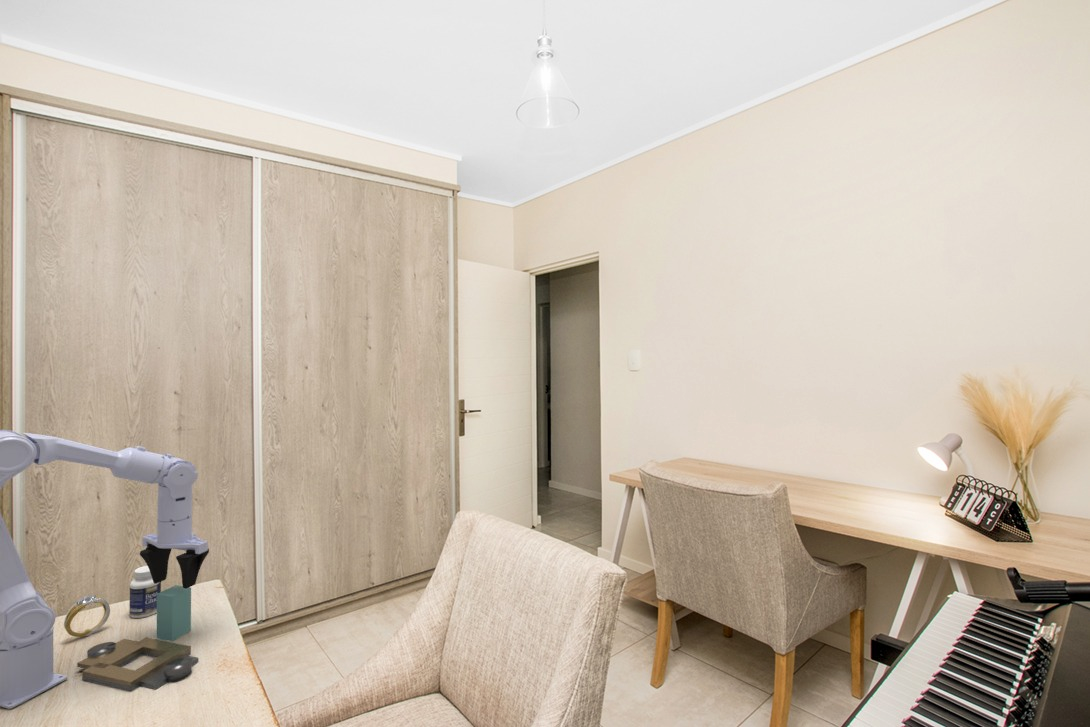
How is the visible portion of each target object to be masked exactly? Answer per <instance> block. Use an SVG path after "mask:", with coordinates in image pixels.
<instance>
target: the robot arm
mask: <svg viewBox="0 0 1090 727" xmlns="http://www.w3.org/2000/svg"><path fill="white" fill-rule="evenodd" d="M22 434H23V435H24V436H25V437H24V436H22V435H21V434H20V433H18V432H16V431H13V430H9V429H0V490H2V488H3V487H4V486H5V485H6V484H7V483H8V481H9V480H11V479H13V478H14V477H15V476H17V475H18V474H21V473H22V472H23V471H25V470H26V469H28V468H29V467H30V466H31V465H32V464H33V463H34V464H36V465H37V466H42V465H45V464H48V463H52V462H54V461H65V462H70V463H77V464H82V465H89V466H94V467H100V468H104V469H105V468H107V469H109V470H110V471H111V474H112V476H113V477H114V478H117V479H118V478H119V479H124V480H130V481H135V482H141V483H145V484H150V485H153V484H158V485H157V486H158V487H157V490H158V491H157V517H156V518H157V519H156V520H157V521H156V523H157V524H156V525H157V526H156V527H157V528H156V529H157V530H156V531H157V533H150V534H147V535H145V536H142V547H145V549H143V550H140V551H139V555H140V557H141V558H142V559H143V561H144V562H145V563H146V566H148V568H149V570H150V573H151V576H152V579H153V582H154V583H155V584H157V583H159V582H161V583H162V582H163V581H165V580H167V577H168V570H169V569H168V568H169V561H170V560H169V559H170V555H171V552H172V550H179V551H185V552H184V553H180V554H179V555H177V556H175V560H176V561H177V563H178V565H179V568H180V572H181V584H182V585H181V586H183V588H185V589H186V588H189V587H190V588H192V587H193V586H195V585H196V582H197V579H198V576H199V572H200V569H201V567H202V565H203V562H204V561H205V559H206V558H207V556H208V554H209V552H210V549H209V547H208V546H209V542H208V540H203V539H201V538H199V537H198V536H197V533H196V532H193V485H194V484H195V482H196V481H197V479H198V476H199V472H198V471H197V469H196V467H195V466H196V465H194V464H193V463H192V462H191V461H188V460H187V459H186V460H185V459H183V458H179V457H177V456H175V455H173V454H170V453H165V454H160V453H156V452H151V451H147V448H146V447H144V446H141V445H140V446H139V445H136V446H135V448H134V447H131V446H130V447H129V446H128V447H126V448H123V449H121V450H118V451H114V450H110V449H105V448H102V447H97V446H94V445H90V444H86V443H81V442H79V441H74V440H71V439H66V438H62V437H58V436H53V435H45V434H37V433H30V432H22ZM56 618H57V617H56V613H55V611H54V609H53V608H52V607H50V606H49V605H48V604H47V603H46V601H45V598H44V597H43V595H42V594H41V593H40V592H38V591H36V589H35V587H34V585H33V584H32V581H31V580H30V578H29V574H28V573H27V571H26V568H25V566H24V563H23V562H22V559H21V557H20V554H19V551H18V550H17V547H16V545H15V542H14V540H13V538H12V537H11V534H10V531H9V529H8V527H7V525H6V521H5V520H4V517H3V515H2V513H1V512H0V707H2V708H6V709H8V710H9V709H10V710H11V709H14V708H15V707H17V706H19V705H21V704H23V703H25V702H27V701H28V700H30V699H32V698H35V697H37V696H39V695H40V694H41V693H43V692H45V691H48V690H49V689H51V688H53V687H55V686H57V685H59V684H60V683H62V682H64V681H65V680H67V679H68V676H67V675H64V674H60V673H55V672H54V625H55V623H56Z"/></svg>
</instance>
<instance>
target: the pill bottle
mask: <svg viewBox="0 0 1090 727" xmlns="http://www.w3.org/2000/svg"><path fill="white" fill-rule="evenodd" d="M133 578H134V579H132V580H131V581H130V584H129V610H128V612H129V614H128V615H129V617H130V618H132V619H140V618H146V617H150V616H152V615H155V614H157V594H158V593H160V592H162V581H161V582H159V583H157V584H155V583H154V582H153V579H152V576H151V573H150V570H149V568H148V566H147V565H143V566H140V567H138V568H135V570H134V572H133Z"/></svg>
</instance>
